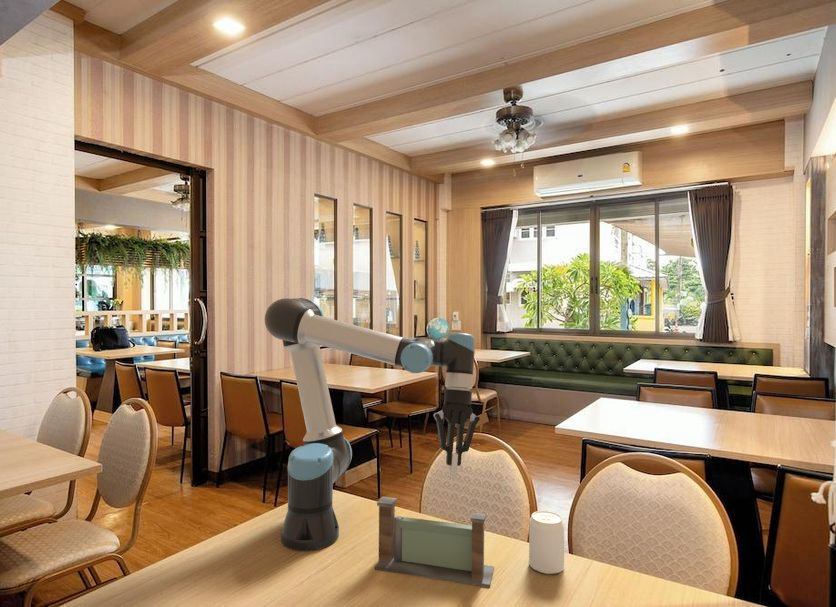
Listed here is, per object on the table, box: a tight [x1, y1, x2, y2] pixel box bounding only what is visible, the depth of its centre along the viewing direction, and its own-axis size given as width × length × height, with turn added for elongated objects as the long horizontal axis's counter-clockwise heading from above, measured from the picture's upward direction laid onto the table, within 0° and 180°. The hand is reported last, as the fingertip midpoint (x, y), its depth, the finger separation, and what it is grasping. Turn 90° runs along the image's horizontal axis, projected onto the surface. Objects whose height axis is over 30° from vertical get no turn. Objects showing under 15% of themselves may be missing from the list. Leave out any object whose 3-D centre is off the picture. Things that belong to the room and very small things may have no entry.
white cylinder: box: [528, 510, 565, 575], centre depth 120 cm, size 8×8×12 cm
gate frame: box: [374, 496, 495, 588], centre depth 118 cm, size 8×28×15 cm, turn 75°
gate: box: [394, 515, 472, 571], centre depth 118 cm, size 2×22×10 cm, turn 75°
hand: (452, 477), depth 135 cm, fingers closed
